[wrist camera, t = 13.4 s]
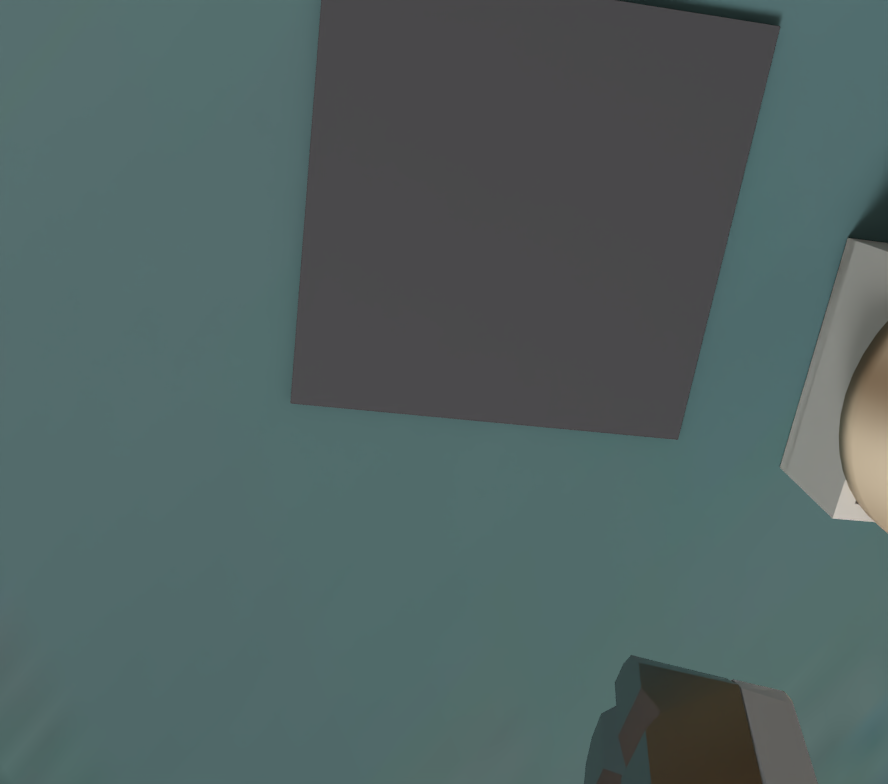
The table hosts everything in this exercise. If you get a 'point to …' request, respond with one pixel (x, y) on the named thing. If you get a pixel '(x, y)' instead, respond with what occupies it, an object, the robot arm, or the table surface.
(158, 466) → the table surface
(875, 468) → the lid
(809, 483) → the white hollow square box
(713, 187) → the mat
